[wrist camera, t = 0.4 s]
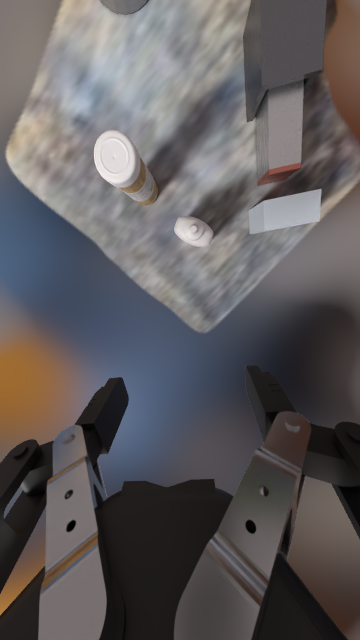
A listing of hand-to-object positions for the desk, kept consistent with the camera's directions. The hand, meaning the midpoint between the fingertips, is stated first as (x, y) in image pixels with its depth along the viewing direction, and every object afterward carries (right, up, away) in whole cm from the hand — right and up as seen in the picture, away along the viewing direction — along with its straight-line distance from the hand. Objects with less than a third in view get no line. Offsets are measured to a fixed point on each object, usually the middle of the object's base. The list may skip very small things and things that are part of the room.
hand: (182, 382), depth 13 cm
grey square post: (+13, +33, +15) cm, 39 cm away
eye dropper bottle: (+2, +19, +22) cm, 29 cm away
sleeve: (+12, +37, +14) cm, 41 cm away
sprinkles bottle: (-6, +26, +20) cm, 33 cm away
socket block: (+15, +21, +20) cm, 33 cm away
